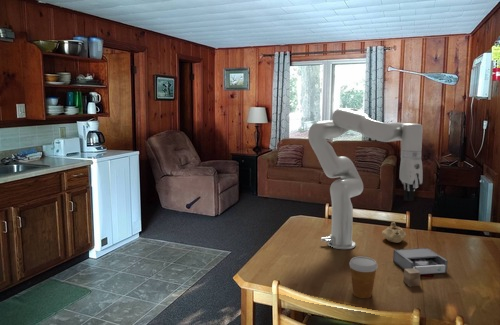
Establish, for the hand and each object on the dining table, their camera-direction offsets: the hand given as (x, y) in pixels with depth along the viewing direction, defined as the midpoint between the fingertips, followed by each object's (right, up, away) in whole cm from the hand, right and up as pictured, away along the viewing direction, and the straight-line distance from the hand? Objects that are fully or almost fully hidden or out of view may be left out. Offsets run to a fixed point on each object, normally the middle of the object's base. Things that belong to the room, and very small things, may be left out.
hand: (408, 200), depth 160 cm
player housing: (+5, -27, +1) cm, 28 cm away
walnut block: (-5, -29, -14) cm, 33 cm away
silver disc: (+5, -26, +1) cm, 26 cm away
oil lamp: (+6, -23, +31) cm, 40 cm away
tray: (+5, -27, 0) cm, 27 cm away
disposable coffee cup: (-25, -31, -21) cm, 45 cm away
